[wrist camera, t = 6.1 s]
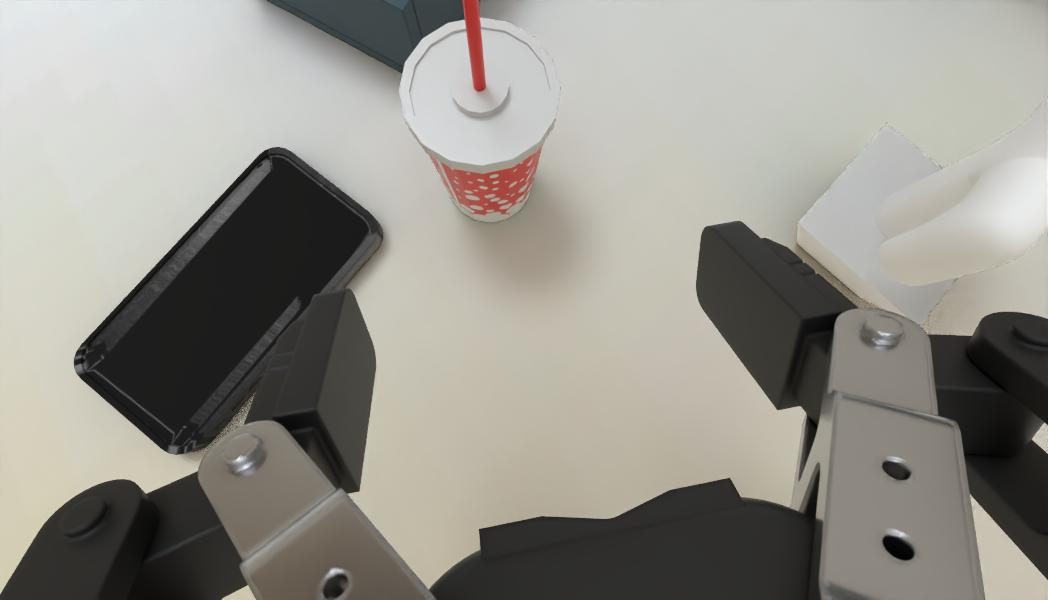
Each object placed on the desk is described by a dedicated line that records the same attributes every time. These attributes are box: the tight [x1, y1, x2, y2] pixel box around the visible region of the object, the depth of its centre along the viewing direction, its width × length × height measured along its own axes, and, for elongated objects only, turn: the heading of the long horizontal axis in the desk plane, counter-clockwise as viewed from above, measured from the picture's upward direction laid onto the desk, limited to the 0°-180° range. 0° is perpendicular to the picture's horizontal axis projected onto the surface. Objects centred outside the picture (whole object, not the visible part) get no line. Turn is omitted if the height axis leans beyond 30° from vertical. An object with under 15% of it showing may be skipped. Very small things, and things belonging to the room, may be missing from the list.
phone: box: [74, 147, 383, 455], centre depth 26 cm, size 8×1×15 cm
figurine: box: [797, 96, 1048, 326], centre depth 20 cm, size 7×9×15 cm
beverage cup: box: [399, 0, 561, 223], centre depth 21 cm, size 6×6×14 cm
